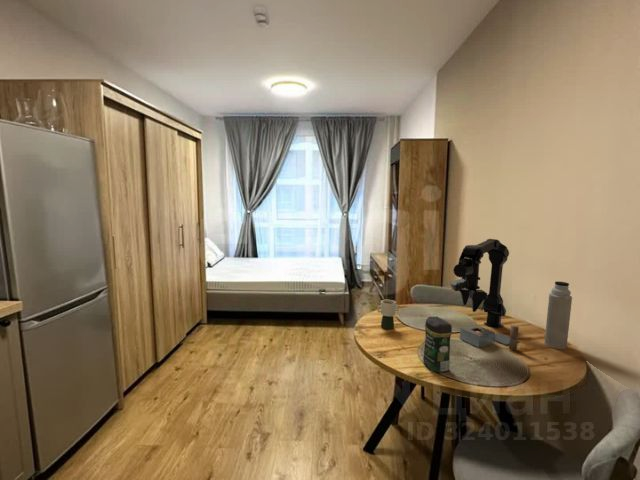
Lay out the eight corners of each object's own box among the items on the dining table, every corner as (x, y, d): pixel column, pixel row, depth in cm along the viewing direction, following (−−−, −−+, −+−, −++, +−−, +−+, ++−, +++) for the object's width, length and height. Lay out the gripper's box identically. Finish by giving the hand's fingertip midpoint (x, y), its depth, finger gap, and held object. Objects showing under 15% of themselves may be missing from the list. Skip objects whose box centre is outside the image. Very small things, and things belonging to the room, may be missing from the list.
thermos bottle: (542, 340, 151) (548, 279, 148) (562, 343, 149) (569, 281, 145) (547, 347, 144) (553, 283, 140) (569, 350, 141) (576, 285, 138)
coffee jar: (419, 361, 130) (422, 315, 128) (438, 359, 131) (441, 314, 129) (433, 374, 120) (436, 324, 118) (452, 372, 122) (456, 323, 120)
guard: (475, 335, 156) (476, 324, 156) (494, 343, 147) (495, 332, 147) (459, 338, 152) (460, 328, 151) (478, 347, 143) (479, 336, 142)
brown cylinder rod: (511, 347, 144) (513, 324, 142) (518, 350, 141) (520, 327, 140) (507, 348, 142) (509, 325, 141) (513, 351, 140) (515, 328, 139)
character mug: (394, 324, 168) (395, 298, 167) (401, 329, 162) (402, 303, 160) (374, 325, 166) (375, 300, 164) (379, 331, 159) (380, 304, 158)
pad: (500, 334, 157) (500, 333, 157) (519, 342, 149) (519, 340, 149) (487, 337, 153) (487, 336, 153) (505, 345, 145) (505, 344, 145)
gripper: (445, 269, 158) (443, 301, 160) (462, 279, 140) (460, 315, 142) (468, 269, 158) (466, 301, 160) (489, 279, 140) (486, 315, 142)
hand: (469, 308), depth 151 cm, fingers open, 9 cm apart
